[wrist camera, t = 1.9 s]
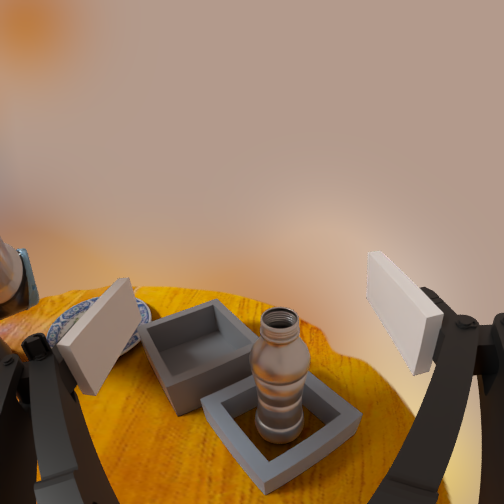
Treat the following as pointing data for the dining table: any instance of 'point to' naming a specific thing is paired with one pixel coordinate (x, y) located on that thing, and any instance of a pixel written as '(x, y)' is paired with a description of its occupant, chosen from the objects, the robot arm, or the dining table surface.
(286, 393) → the plastic bottle
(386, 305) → the robot arm
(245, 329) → the bin
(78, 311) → the ceramic plate
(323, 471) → the dining table surface
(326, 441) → the bottle holder
